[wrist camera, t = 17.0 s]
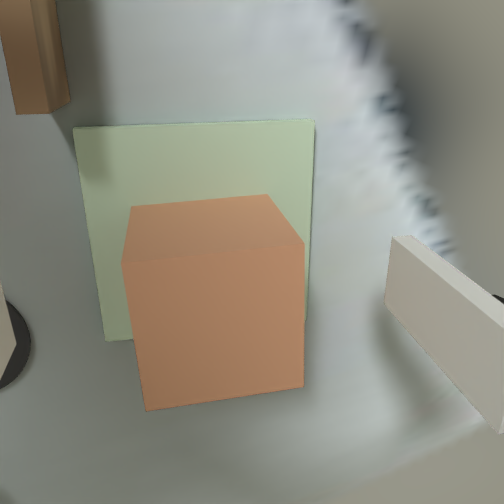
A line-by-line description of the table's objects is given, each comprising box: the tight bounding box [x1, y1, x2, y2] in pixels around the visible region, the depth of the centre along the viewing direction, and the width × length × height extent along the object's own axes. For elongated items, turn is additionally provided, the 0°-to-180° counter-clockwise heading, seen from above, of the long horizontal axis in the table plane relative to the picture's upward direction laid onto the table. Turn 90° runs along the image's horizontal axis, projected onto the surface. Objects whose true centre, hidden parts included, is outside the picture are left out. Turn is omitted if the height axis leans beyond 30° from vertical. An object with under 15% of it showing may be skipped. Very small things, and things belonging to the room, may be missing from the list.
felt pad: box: [72, 119, 315, 342], centre depth 22 cm, size 10×10×1 cm
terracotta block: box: [121, 194, 305, 411], centre depth 19 cm, size 6×6×6 cm
